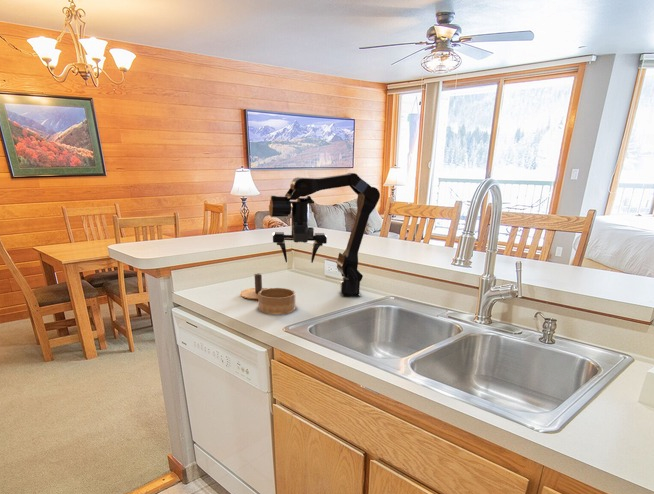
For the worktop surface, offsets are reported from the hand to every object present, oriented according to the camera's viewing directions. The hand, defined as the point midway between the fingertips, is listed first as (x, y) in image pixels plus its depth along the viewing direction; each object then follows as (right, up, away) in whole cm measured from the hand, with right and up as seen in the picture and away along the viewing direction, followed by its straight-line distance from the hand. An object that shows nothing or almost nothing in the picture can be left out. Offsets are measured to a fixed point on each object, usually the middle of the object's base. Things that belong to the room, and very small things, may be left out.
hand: (299, 262), depth 157 cm
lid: (-15, -10, +6) cm, 20 cm away
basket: (-7, -17, -7) cm, 20 cm away
